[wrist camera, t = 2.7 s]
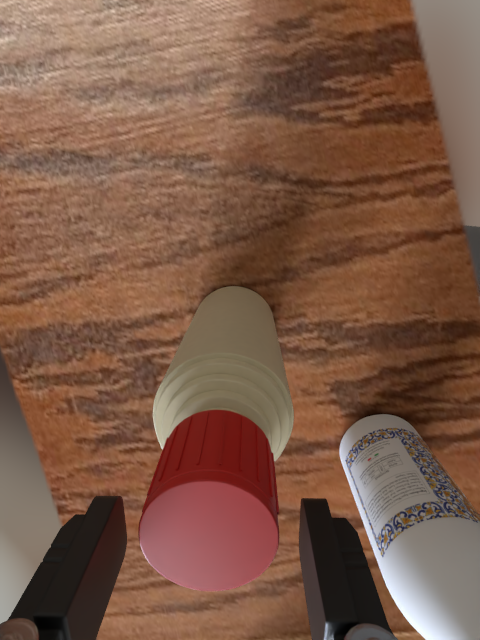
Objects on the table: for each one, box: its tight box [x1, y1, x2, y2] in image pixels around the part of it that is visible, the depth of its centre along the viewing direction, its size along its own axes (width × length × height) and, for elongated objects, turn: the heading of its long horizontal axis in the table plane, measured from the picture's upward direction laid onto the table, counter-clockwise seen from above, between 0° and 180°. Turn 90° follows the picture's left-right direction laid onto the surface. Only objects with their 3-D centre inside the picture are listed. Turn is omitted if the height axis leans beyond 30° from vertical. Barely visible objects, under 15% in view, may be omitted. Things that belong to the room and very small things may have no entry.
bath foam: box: [340, 414, 480, 640], centre depth 24 cm, size 7×7×20 cm
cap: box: [139, 410, 279, 591], centre depth 13 cm, size 4×4×4 cm
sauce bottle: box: [153, 286, 294, 462], centre depth 21 cm, size 6×6×20 cm
